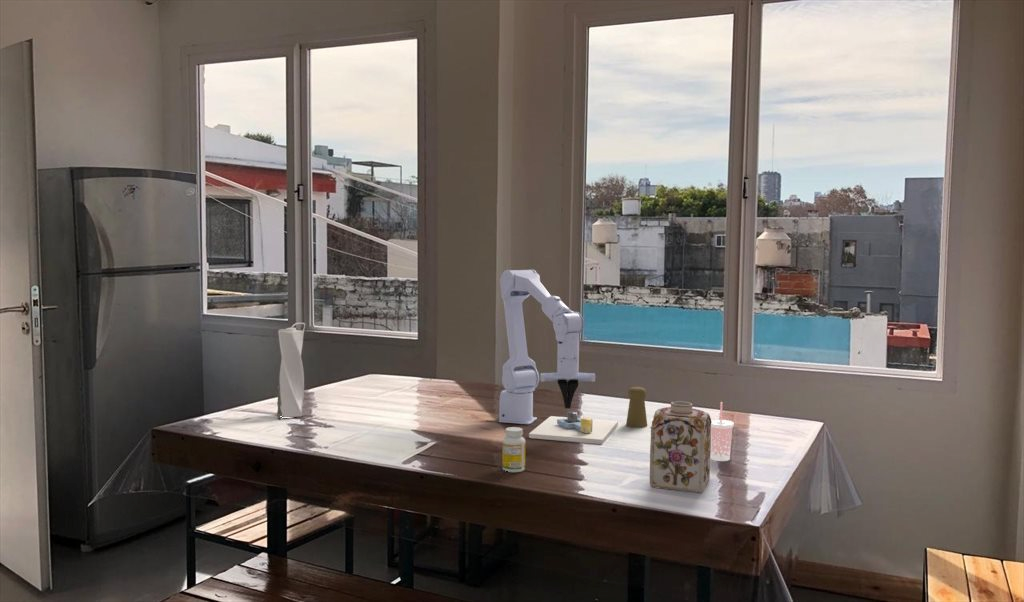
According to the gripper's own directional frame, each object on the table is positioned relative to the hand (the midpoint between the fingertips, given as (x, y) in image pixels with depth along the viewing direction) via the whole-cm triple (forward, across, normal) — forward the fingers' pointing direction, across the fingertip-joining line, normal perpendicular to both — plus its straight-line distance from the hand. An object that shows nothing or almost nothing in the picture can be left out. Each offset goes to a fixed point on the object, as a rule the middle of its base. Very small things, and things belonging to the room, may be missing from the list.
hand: (567, 407), depth 222 cm
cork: (+8, +21, +13) cm, 26 cm away
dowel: (+8, +6, +3) cm, 11 cm away
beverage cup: (+8, +35, -22) cm, 42 cm away
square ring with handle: (+6, +3, +5) cm, 9 cm away
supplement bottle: (+8, -16, -30) cm, 35 cm away
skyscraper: (+9, -79, +26) cm, 84 cm away
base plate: (+8, +3, +6) cm, 10 cm away
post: (+8, +2, +7) cm, 11 cm away
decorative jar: (+8, +21, -41) cm, 47 cm away
